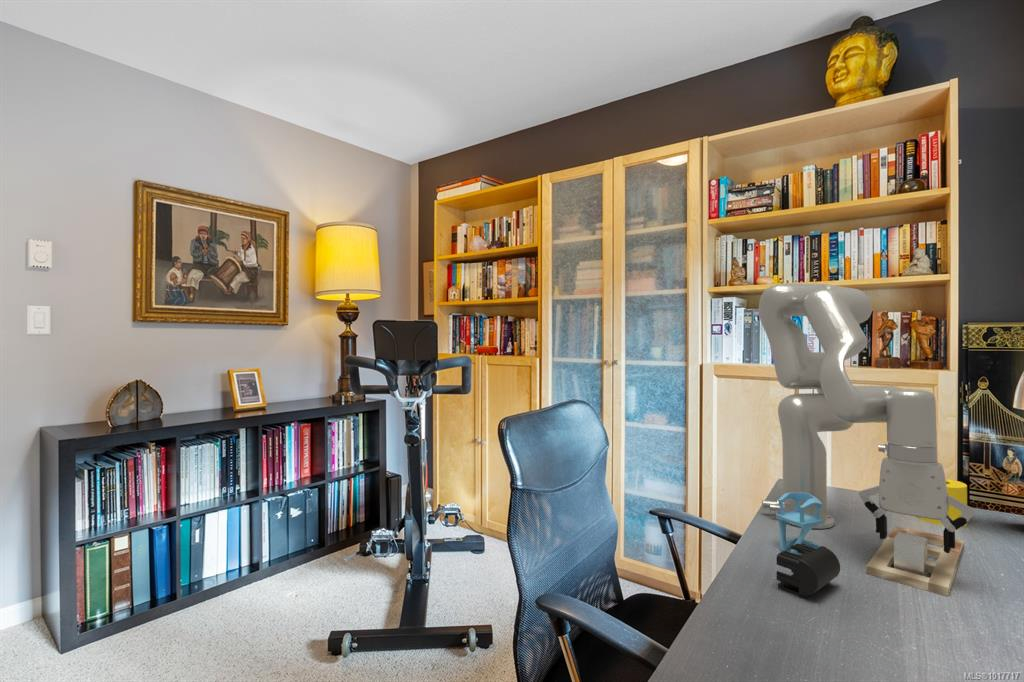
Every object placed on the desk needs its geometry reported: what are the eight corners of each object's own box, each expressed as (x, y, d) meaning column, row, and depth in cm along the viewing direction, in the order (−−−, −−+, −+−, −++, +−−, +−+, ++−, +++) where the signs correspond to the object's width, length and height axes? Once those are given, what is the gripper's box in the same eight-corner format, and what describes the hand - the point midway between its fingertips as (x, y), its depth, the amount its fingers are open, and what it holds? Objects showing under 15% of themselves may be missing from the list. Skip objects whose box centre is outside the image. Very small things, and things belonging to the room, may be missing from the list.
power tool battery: (817, 605, 86) (817, 565, 86) (775, 589, 91) (775, 551, 91) (840, 587, 92) (840, 550, 92) (799, 573, 97) (799, 538, 97)
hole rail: (866, 573, 97) (866, 565, 97) (895, 532, 117) (895, 525, 117) (948, 596, 88) (948, 587, 88) (963, 547, 109) (963, 540, 109)
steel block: (893, 574, 97) (893, 538, 97) (898, 567, 100) (898, 531, 100) (923, 582, 94) (923, 545, 93) (927, 574, 97) (927, 538, 97)
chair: (770, 546, 110) (770, 491, 110) (796, 540, 113) (796, 487, 113) (802, 560, 103) (802, 502, 103) (829, 553, 106) (829, 496, 106)
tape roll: (962, 517, 128) (962, 480, 128) (971, 529, 119) (971, 490, 119) (912, 509, 133) (912, 474, 133) (917, 521, 125) (917, 483, 125)
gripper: (853, 450, 100) (855, 537, 100) (971, 463, 88) (974, 563, 87) (862, 445, 105) (864, 528, 105) (974, 457, 93) (977, 551, 92)
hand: (914, 543), depth 96 cm, fingers open, 9 cm apart
